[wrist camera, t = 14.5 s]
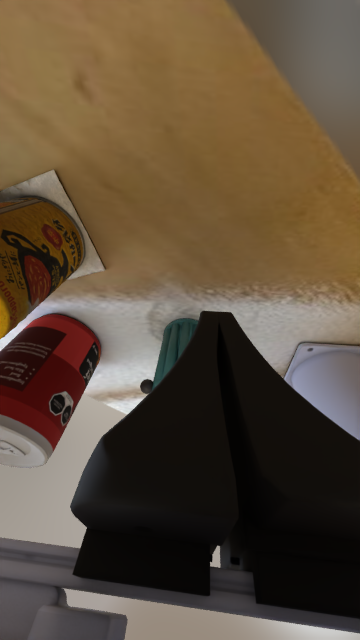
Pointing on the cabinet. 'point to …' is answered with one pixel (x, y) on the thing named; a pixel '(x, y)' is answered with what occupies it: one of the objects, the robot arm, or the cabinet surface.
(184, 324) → the pencil holder
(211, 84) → the cabinet surface
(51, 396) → the canned food
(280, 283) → the cabinet surface
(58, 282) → the condiment
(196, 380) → the robot arm
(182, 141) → the cabinet surface
